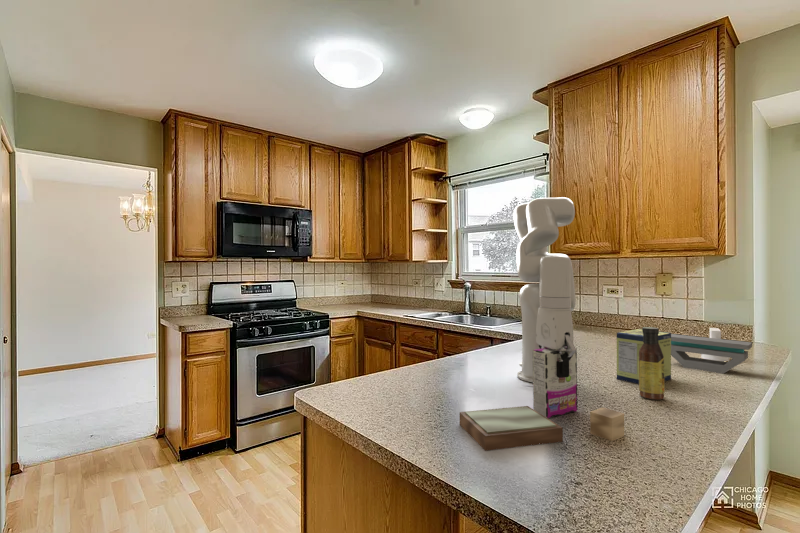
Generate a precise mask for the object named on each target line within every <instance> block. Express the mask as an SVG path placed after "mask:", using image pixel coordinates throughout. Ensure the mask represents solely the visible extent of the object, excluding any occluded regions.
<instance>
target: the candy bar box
mask: <svg viewBox="0 0 800 533" xmlns="http://www.w3.org/2000/svg"><path fill="white" fill-rule="evenodd" d="M575 348H576V347H575ZM561 349H563V348H561ZM564 353H565V352H564V351H563V352H562V355H563V354H564ZM577 356H578V354H577V348H576V352H575V353H574V354H573V356H572V358H571V361H570V362H569V377H563V378H558V377H557V361H559V360H558V356H557V351H556V350H552V349H549V348H542V349H536V350H533V382H532V383H533V384H532V391H533V394H532V395H533V396H532V397H533V399H532V400H533V410H535V411H537V412H538V413H540V414H542V415H543V416H545V417H546V418H548V419H550V418H555V417H559V416H562V415H566V414H567V415H568V414H570V413H574V412H577V411H578V363H577V361H578V359H577V358H578V357H577Z"/></svg>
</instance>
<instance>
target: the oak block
mask: <svg viewBox="0 0 800 533" xmlns="http://www.w3.org/2000/svg"><path fill="white" fill-rule="evenodd" d="M589 412H590V414H589V417H590V418H589V420H590V423H589V424H590V426H589V428H590V429H589V433H590V435H594V436H596V437H599V438H602V439H605V440H607V441H610V442H614V441H616V440H619V439H621V438H622V437H623V438H624V437H625V413H623V412H620V411H617V410H614V409H610V408H607V407H603V406H602V407H600V408H597V409H594V410H591V411H589Z"/></svg>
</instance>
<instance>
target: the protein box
mask: <svg viewBox="0 0 800 533" xmlns="http://www.w3.org/2000/svg"><path fill="white" fill-rule="evenodd" d="M671 334H672V332H665V331H659V334H658V342H659V345H660V348H661V350H662V353H663V356H664V382H666V381H670V380H671V379H672V356H671ZM642 345H643V332H642V328H637V329H631V330H625V331H619V332H616V379H617V380H620V381H622V382H627V383H631V384H632V383H633V384H637V385H639V349H640V348H641V346H642Z"/></svg>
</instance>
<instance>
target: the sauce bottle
mask: <svg viewBox="0 0 800 533" xmlns="http://www.w3.org/2000/svg"><path fill="white" fill-rule="evenodd" d="M641 329H642V332H643V345H642V346H641V348H640V349H639V384H638V390H639V395H640V396H641V397H642V398H645V399H647V400H653V401H654V400H657V401H659V400H663V399H664V398H665V388H666V387H665V381H664V356H663V353H662V350H661V348H660V345H659V342H658V334H659V332H660V331H659V328H658V327H653V326H652V327H651V326H644V327H642V328H641Z"/></svg>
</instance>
